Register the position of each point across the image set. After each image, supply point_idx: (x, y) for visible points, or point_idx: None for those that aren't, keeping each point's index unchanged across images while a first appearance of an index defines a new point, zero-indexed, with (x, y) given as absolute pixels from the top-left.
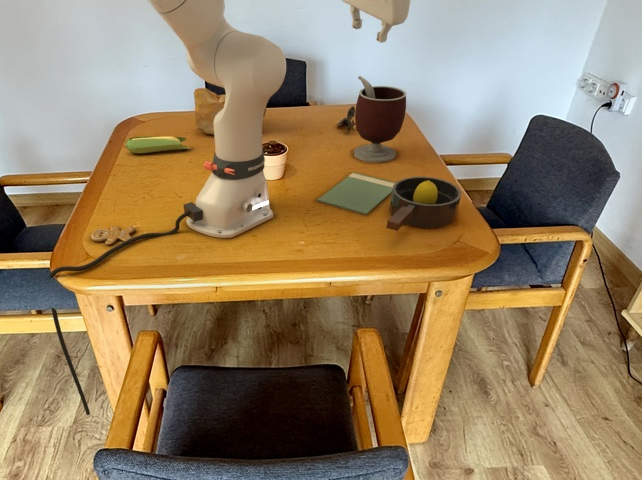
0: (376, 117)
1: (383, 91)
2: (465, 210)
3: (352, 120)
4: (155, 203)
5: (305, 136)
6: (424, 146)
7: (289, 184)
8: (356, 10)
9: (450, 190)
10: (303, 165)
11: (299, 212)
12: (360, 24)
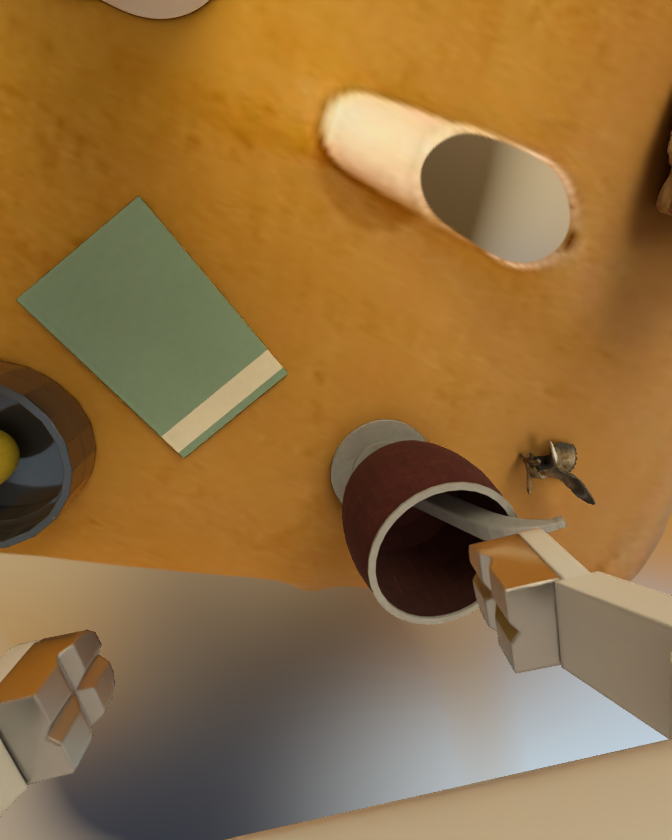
0: (364, 491)
1: None
2: None
3: (538, 475)
4: None
5: (557, 345)
6: None
7: (277, 162)
8: (670, 709)
9: (2, 533)
10: (387, 261)
11: (73, 104)
12: (495, 619)
